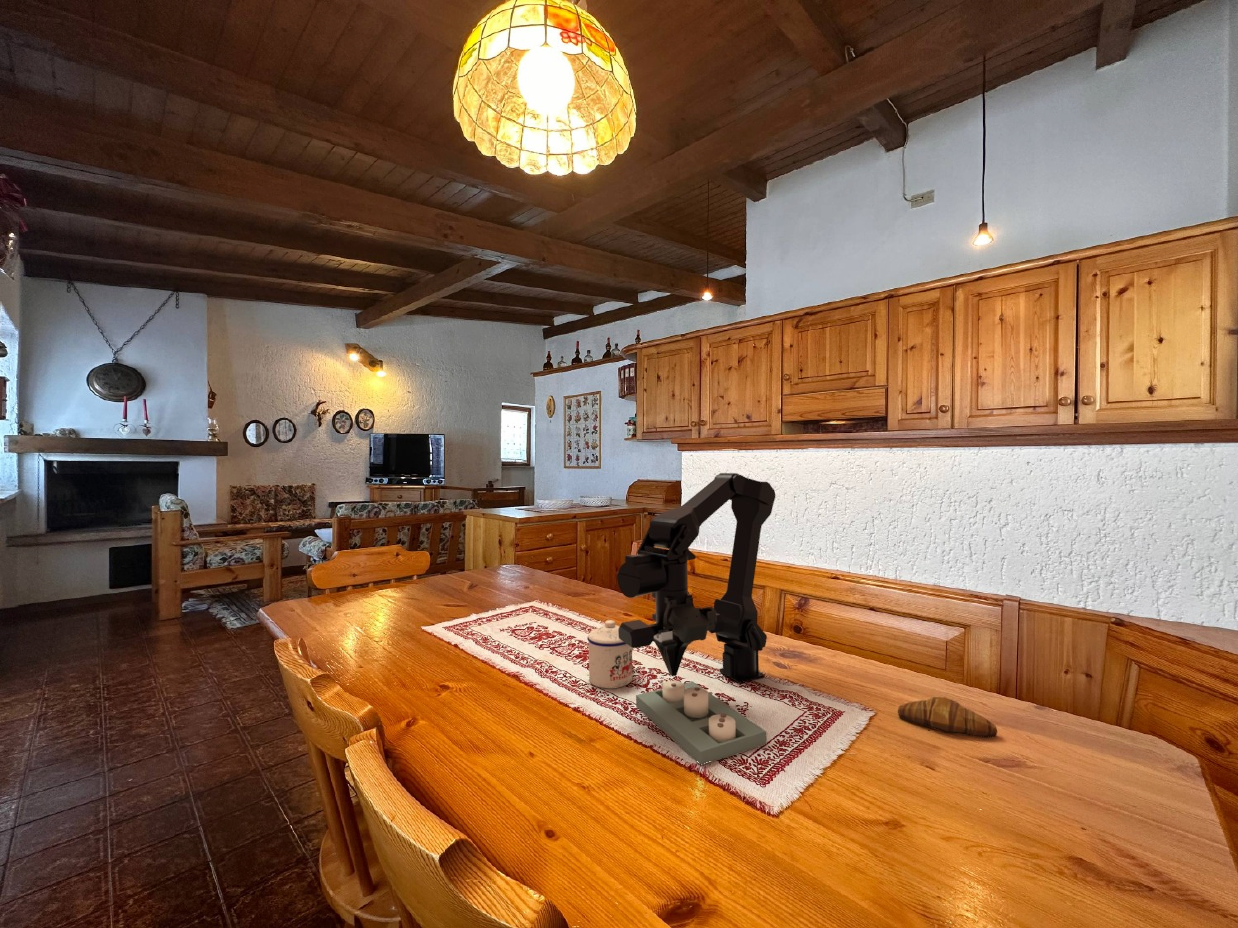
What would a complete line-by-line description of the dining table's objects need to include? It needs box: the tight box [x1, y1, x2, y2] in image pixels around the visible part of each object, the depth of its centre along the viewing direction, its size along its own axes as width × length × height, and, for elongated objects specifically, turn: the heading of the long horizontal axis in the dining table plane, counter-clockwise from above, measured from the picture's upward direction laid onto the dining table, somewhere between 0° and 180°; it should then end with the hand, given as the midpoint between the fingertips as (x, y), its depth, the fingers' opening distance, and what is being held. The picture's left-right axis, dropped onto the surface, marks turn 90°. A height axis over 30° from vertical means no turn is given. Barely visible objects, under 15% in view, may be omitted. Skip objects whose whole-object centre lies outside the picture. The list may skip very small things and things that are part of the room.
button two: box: [684, 687, 709, 718], centre depth 85 cm, size 4×4×3 cm
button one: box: [661, 680, 685, 704], centre depth 91 cm, size 4×4×3 cm
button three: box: [709, 713, 736, 744], centre depth 79 cm, size 4×4×3 cm
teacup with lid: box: [586, 619, 634, 689], centre depth 104 cm, size 12×9×12 cm
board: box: [635, 681, 767, 765], centre depth 85 cm, size 12×20×2 cm, turn 26°
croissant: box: [897, 696, 998, 739], centre depth 83 cm, size 14×7×5 cm, turn 60°
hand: (672, 675), depth 91 cm, fingers closed
